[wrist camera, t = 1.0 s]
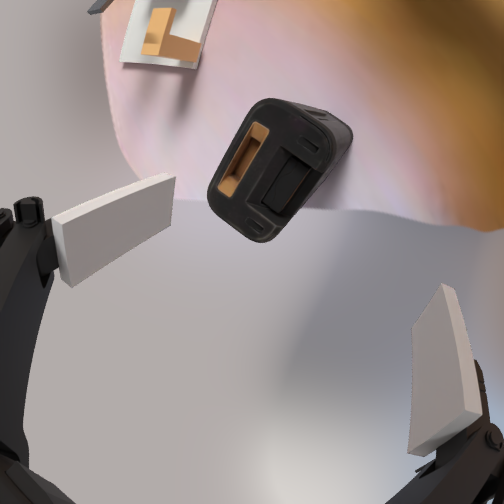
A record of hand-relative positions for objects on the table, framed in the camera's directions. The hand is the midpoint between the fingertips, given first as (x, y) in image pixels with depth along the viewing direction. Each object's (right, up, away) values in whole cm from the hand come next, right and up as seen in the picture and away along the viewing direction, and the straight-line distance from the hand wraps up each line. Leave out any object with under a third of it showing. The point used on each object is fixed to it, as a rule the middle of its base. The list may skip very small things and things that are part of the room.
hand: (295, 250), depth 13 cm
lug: (-10, +29, +20) cm, 37 cm away
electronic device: (+7, +13, +22) cm, 26 cm away
